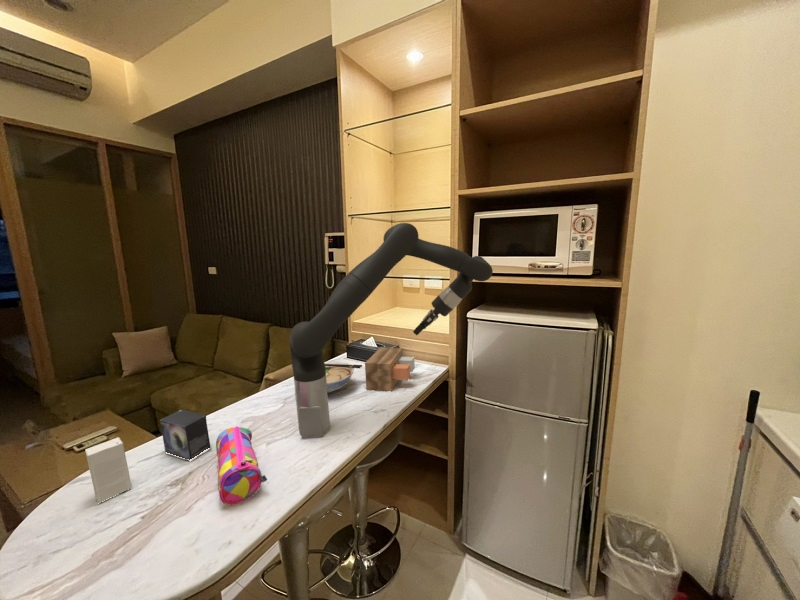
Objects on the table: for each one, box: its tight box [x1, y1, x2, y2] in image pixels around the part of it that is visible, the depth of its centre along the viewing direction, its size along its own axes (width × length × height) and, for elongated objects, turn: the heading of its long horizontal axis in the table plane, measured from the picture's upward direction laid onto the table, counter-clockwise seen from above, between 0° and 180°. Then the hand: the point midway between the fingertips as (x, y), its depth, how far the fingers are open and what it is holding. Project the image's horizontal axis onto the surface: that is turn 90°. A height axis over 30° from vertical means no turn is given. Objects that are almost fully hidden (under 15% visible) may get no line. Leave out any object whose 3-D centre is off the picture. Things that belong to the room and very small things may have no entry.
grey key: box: [398, 356, 416, 373], centre depth 133 cm, size 7×5×5 cm
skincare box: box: [84, 436, 133, 504], centre depth 72 cm, size 6×4×12 cm
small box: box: [159, 409, 212, 460], centre depth 87 cm, size 11×6×10 cm, turn 68°
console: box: [364, 347, 403, 392], centre depth 130 cm, size 10×20×11 cm, turn 166°
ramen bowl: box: [324, 361, 363, 394], centre depth 124 cm, size 25×23×8 cm
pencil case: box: [215, 426, 268, 506], centre depth 76 cm, size 22×9×9 cm, turn 34°
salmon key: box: [392, 364, 411, 382], centre depth 124 cm, size 7×5×5 cm
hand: (415, 332), depth 121 cm, fingers open, 2 cm apart
